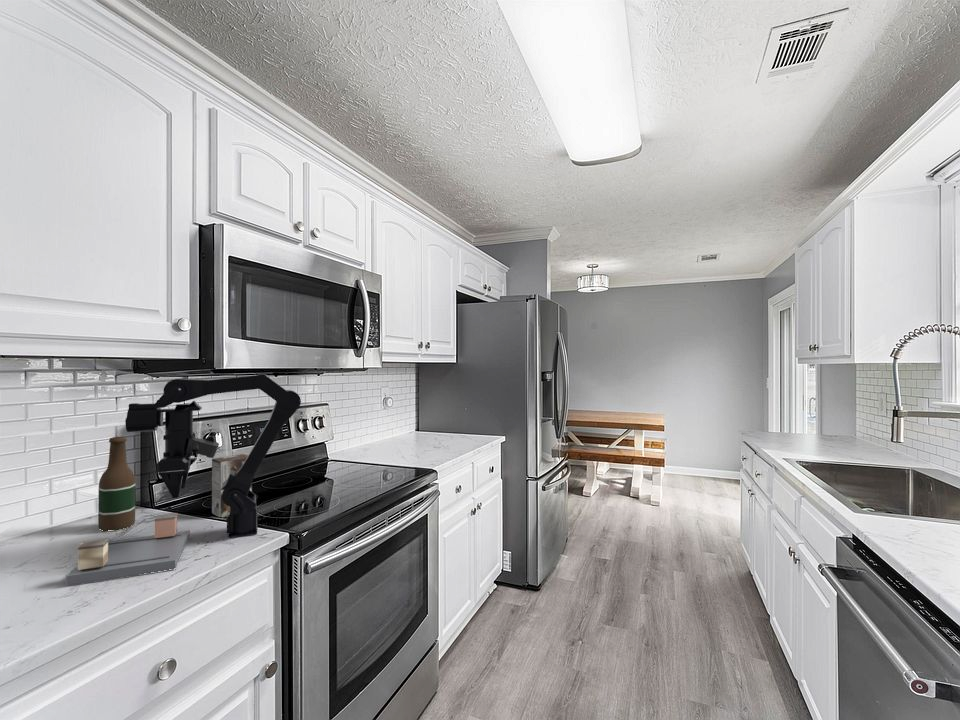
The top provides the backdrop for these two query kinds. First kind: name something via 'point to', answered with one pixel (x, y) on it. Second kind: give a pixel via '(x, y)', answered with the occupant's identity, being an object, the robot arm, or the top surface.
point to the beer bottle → (116, 490)
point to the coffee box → (223, 480)
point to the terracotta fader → (165, 525)
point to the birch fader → (92, 554)
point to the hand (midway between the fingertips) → (179, 493)
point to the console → (134, 558)
